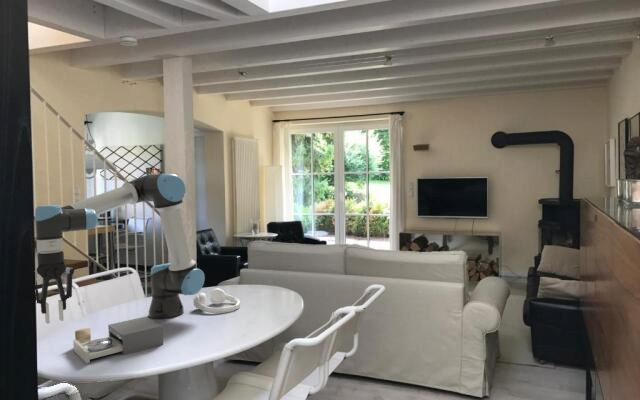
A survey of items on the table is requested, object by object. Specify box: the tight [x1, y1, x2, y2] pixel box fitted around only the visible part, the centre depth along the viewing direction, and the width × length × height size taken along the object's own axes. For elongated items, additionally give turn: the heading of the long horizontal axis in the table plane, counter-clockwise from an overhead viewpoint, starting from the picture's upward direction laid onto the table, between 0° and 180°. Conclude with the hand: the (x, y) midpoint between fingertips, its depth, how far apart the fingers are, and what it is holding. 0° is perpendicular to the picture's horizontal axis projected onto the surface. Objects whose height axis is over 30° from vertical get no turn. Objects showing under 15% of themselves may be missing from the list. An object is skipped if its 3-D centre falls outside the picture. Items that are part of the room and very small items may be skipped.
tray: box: [72, 336, 123, 365], centre depth 160 cm, size 14×17×4 cm
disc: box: [87, 337, 113, 352], centre depth 160 cm, size 8×8×2 cm
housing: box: [107, 316, 164, 356], centre depth 168 cm, size 14×17×7 cm
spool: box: [74, 327, 92, 344], centre depth 167 cm, size 5×5×6 cm
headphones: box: [192, 287, 241, 314], centre depth 214 cm, size 20×8×20 cm
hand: (54, 321), depth 151 cm, fingers open, 3 cm apart
